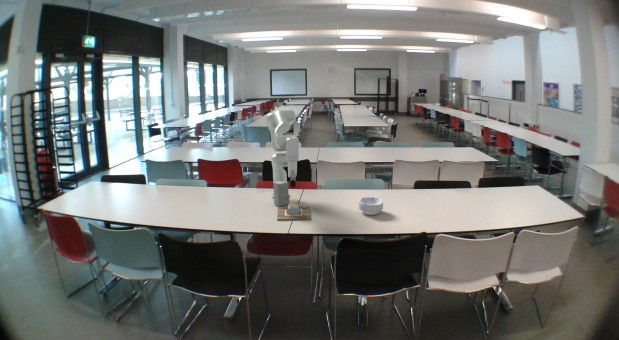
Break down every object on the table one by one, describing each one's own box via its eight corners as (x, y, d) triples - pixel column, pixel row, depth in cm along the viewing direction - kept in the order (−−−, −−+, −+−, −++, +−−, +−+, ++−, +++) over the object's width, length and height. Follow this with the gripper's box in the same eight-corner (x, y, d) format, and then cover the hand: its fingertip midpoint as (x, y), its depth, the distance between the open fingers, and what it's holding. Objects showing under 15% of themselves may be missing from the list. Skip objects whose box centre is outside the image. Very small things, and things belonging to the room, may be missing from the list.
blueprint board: (278, 208, 229) (277, 201, 228) (308, 207, 230) (308, 200, 229) (277, 220, 210) (276, 212, 208) (310, 219, 211) (310, 211, 209)
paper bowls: (364, 218, 212) (364, 205, 210) (354, 209, 227) (354, 198, 225) (387, 215, 216) (387, 203, 214) (376, 207, 231) (376, 195, 229)
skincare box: (278, 207, 232) (278, 184, 228) (273, 204, 237) (272, 181, 233) (289, 204, 236) (289, 182, 232) (283, 201, 242) (283, 179, 238)
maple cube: (289, 205, 221) (289, 197, 220) (297, 204, 221) (297, 197, 220) (289, 207, 216) (289, 200, 215) (297, 207, 216) (297, 200, 215)
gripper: (286, 154, 219) (286, 180, 224) (286, 161, 202) (286, 189, 207) (298, 154, 219) (298, 180, 224) (299, 161, 203) (299, 189, 207)
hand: (292, 184), depth 215 cm, fingers open, 9 cm apart
